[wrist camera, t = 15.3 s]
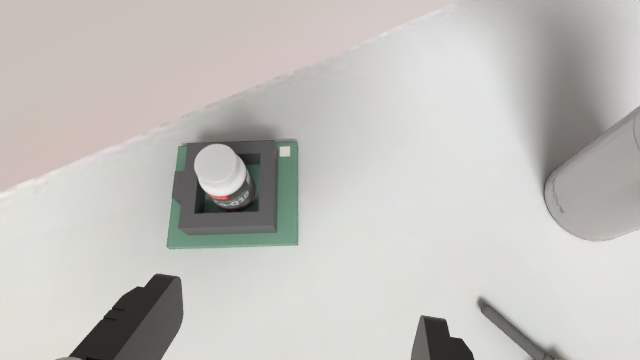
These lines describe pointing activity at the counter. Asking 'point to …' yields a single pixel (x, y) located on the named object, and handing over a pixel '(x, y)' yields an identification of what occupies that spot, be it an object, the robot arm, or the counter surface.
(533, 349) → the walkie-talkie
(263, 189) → the socket board
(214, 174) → the pill bottle
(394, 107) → the counter surface
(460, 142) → the counter surface
